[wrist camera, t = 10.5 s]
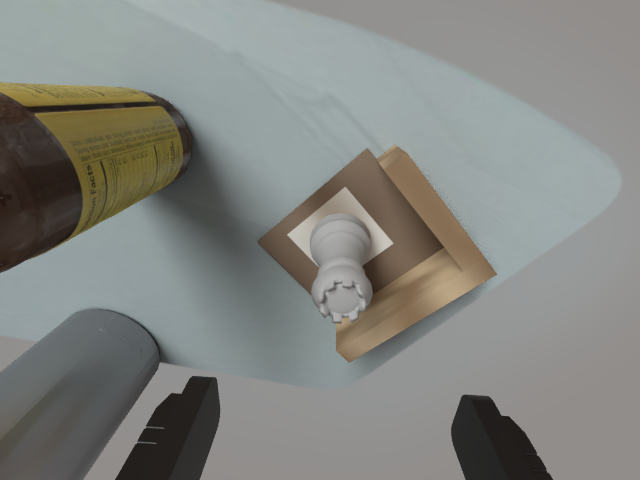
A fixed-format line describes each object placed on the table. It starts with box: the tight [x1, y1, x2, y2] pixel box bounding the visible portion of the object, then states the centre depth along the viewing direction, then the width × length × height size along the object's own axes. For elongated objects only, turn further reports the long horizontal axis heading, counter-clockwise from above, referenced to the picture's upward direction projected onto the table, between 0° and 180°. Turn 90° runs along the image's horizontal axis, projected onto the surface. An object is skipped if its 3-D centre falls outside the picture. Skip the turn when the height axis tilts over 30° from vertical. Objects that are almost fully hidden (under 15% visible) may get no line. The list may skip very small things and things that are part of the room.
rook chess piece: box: [310, 213, 373, 324], centre depth 19 cm, size 4×4×8 cm
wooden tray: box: [258, 145, 497, 362], centre depth 21 cm, size 12×11×4 cm
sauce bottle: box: [0, 83, 192, 273], centre depth 12 cm, size 6×6×20 cm
